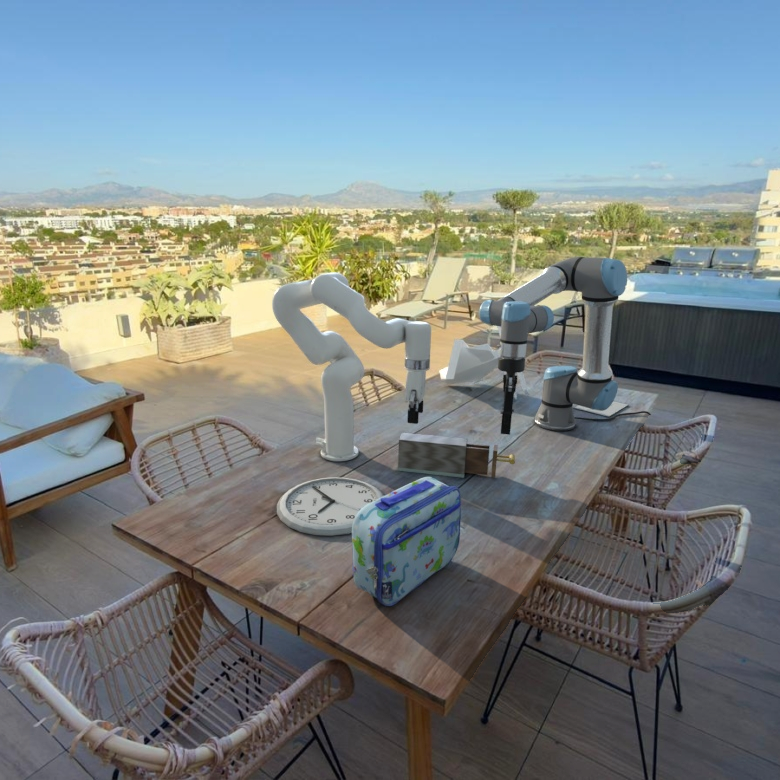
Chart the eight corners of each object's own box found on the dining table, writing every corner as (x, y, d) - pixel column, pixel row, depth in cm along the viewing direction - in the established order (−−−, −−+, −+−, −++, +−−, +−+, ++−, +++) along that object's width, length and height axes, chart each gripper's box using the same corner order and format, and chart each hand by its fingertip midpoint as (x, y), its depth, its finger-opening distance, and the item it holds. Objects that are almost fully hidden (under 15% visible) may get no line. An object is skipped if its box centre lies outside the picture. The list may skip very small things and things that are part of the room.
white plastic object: (461, 429, 252) (437, 405, 227) (444, 352, 274) (420, 323, 250) (535, 404, 240) (518, 377, 215) (510, 326, 262) (492, 293, 237)
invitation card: (608, 416, 214) (573, 407, 224) (608, 416, 214) (573, 408, 224) (628, 404, 229) (594, 396, 238) (628, 405, 229) (594, 397, 238)
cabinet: (465, 469, 166) (467, 438, 162) (464, 477, 160) (466, 446, 157) (401, 462, 169) (402, 432, 166) (397, 470, 164) (398, 439, 161)
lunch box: (381, 619, 101) (382, 525, 95) (345, 592, 109) (344, 503, 102) (464, 563, 119) (469, 480, 113) (428, 543, 126) (432, 464, 120)
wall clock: (392, 527, 129) (268, 531, 127) (391, 533, 130) (269, 537, 127) (383, 473, 158) (282, 475, 155) (383, 478, 158) (282, 480, 156)
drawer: (513, 472, 162) (515, 446, 159) (513, 479, 158) (516, 452, 155) (432, 464, 167) (434, 438, 164) (431, 470, 162) (432, 444, 160)
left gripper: (409, 356, 164) (408, 407, 169) (399, 370, 148) (398, 426, 153) (433, 357, 163) (431, 409, 168) (425, 372, 147) (423, 428, 152)
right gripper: (498, 350, 156) (492, 424, 163) (498, 361, 144) (492, 440, 151) (524, 352, 155) (517, 426, 162) (526, 362, 142) (518, 442, 149)
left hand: (415, 417), depth 161 cm, fingers open, 9 cm apart
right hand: (505, 433), depth 156 cm, fingers closed
